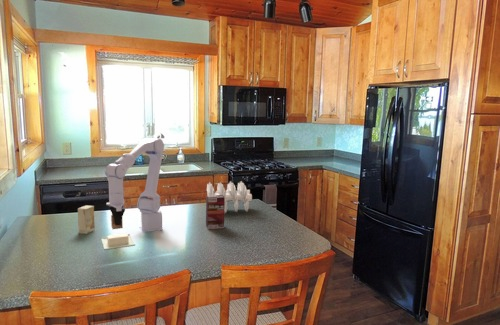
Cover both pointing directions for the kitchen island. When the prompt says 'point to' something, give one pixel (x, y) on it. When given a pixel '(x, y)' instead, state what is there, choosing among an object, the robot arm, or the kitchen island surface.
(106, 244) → the plate
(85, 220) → the skincare box
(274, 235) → the kitchen island surface
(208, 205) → the supplement box
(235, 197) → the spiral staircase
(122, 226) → the walnut brick
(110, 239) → the base brick
